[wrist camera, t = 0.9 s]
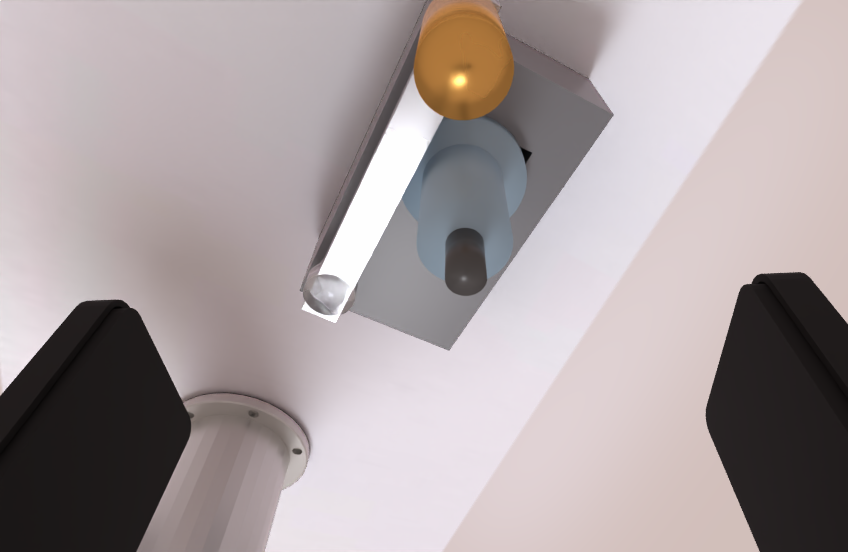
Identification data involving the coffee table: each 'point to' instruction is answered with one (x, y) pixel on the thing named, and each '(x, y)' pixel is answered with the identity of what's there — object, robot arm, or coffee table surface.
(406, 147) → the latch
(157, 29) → the coffee table surface
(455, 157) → the plug
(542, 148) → the socket block
